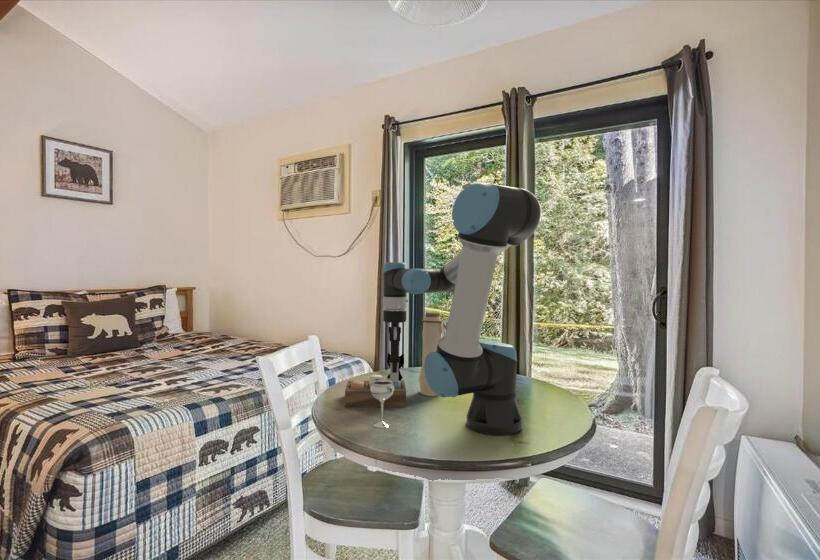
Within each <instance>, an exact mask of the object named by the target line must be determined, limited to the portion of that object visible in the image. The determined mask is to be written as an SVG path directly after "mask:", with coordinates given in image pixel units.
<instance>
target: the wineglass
mask: <svg viewBox="0 0 820 560" xmlns="http://www.w3.org/2000/svg"><path fill="white" fill-rule="evenodd" d="M370 382H371V384H372V385H371V387H370V392H371V395H372V396H373V397H374V398H375V399H377V400H379V401H380V402H381V407H380V419H381V420H380V421H376V422H373V424H372V426H373V427H375V428H381V429H384V428H389V427H391V425H392V424H391V422H389V421H385V420H384V407H383V405H384V402H385V400H387V399H389V398H390V397H391V396H392V395H393V393H394V385H393V383H394V380H392V379H390V378H389V379H388V378H387V377H385V378H384V377H383V378H379V379H373V380H371V381H370Z"/></svg>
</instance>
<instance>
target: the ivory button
mask: <svg viewBox="0 0 820 560" xmlns="http://www.w3.org/2000/svg"><path fill="white" fill-rule="evenodd" d="M379 378H384V377H383V375H382V374H371V375H369V376H368V381H369V388H370V387H371V385H372V384H371V382H370V381H371V380H373V379H379Z"/></svg>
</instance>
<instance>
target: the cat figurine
mask: <svg viewBox="0 0 820 560" xmlns="http://www.w3.org/2000/svg"><path fill="white" fill-rule="evenodd" d="M390 355H391V353H390V352H387V356H386V357H387V359H386V363H387V364H386V366H387V367H388V369H390V363H389V360H390V358H391V357H390ZM399 359H400V361H399V380H403V375H402V374H401V371H400V370H402V367H403V366H405V354H404V353H402V354H401V355H400V356H399ZM386 379H390V373H389V374H388V375H387V377H386Z"/></svg>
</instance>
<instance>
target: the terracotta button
mask: <svg viewBox="0 0 820 560" xmlns="http://www.w3.org/2000/svg"><path fill="white" fill-rule="evenodd" d="M352 381H353V382H351V388H364V382H363V381H364V380H352Z"/></svg>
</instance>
